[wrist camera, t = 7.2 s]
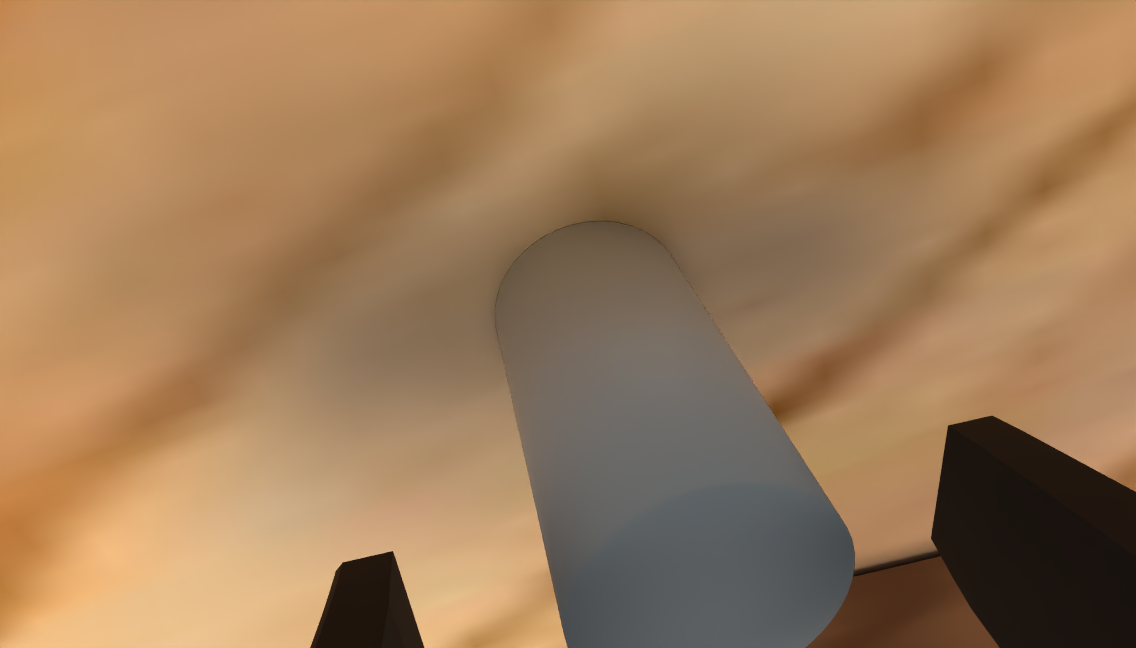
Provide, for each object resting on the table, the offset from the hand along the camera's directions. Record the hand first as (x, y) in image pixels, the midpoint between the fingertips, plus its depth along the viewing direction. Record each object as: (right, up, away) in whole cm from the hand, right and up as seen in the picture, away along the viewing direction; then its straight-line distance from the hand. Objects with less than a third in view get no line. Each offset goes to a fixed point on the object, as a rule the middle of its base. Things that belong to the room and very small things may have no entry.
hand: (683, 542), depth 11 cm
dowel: (-1, +3, +5) cm, 6 cm away
